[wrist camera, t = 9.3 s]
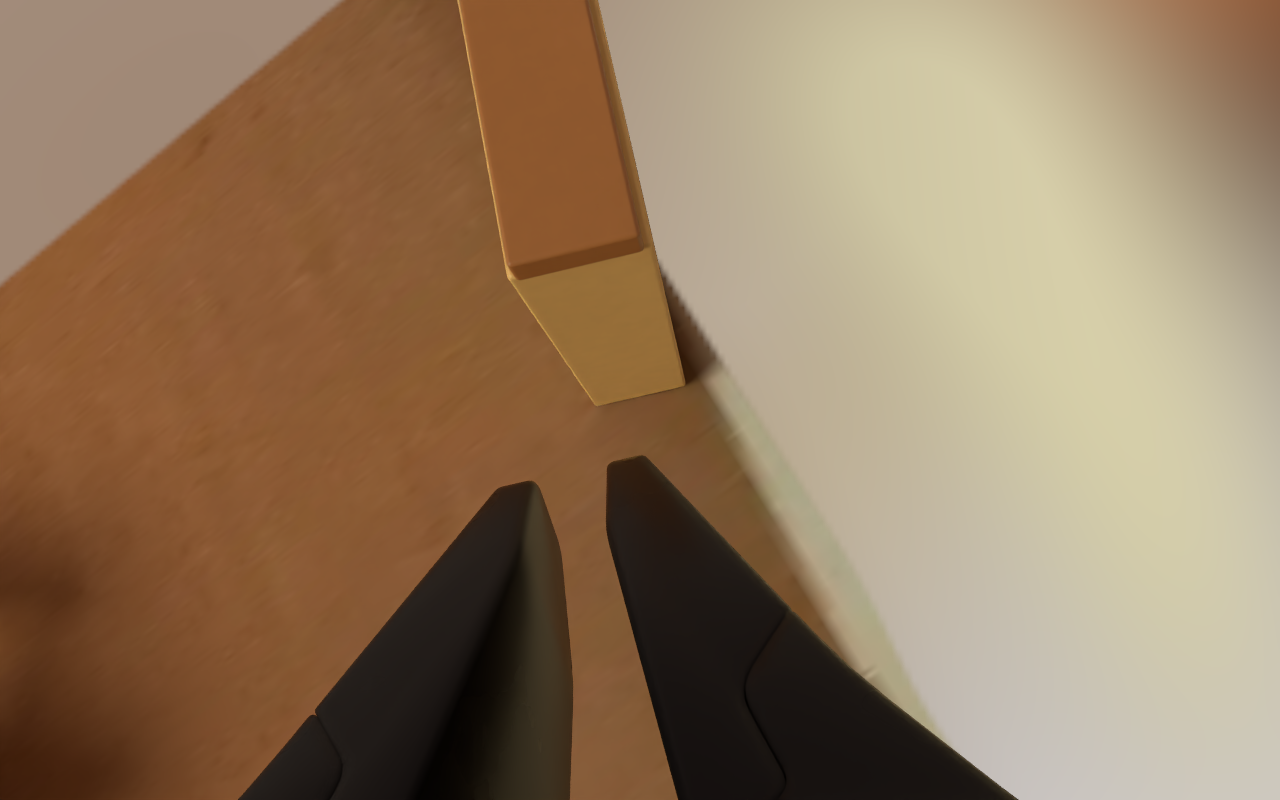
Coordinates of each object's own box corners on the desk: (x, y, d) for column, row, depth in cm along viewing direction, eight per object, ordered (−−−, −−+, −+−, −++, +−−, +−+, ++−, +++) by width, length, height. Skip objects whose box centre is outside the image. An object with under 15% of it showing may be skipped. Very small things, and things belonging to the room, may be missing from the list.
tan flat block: (687, 390, 24) (650, 232, 14) (595, 411, 24) (496, 269, 14) (633, 152, 25) (567, -132, 16) (548, 173, 26) (432, -97, 16)
